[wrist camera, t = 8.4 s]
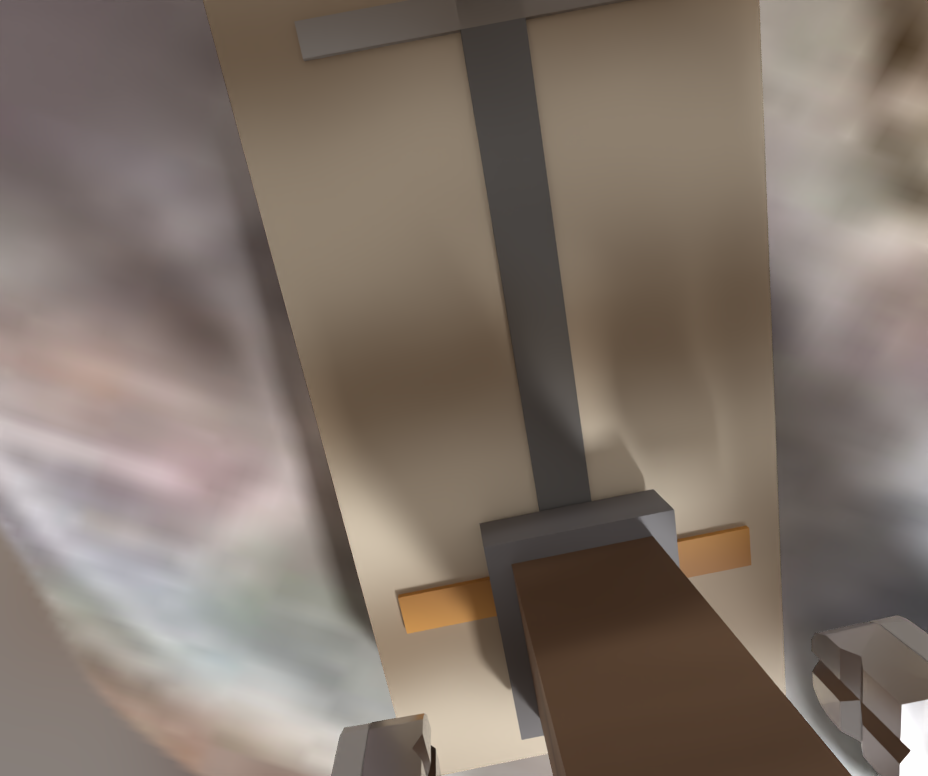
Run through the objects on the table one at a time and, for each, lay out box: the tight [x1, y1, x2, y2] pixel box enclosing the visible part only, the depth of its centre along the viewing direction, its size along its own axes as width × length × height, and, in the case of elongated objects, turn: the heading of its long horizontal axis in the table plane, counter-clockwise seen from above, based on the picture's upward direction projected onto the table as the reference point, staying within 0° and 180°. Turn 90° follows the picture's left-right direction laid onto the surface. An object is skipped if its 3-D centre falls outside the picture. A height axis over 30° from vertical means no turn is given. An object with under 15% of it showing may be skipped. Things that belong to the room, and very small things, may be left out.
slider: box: [479, 489, 852, 776], centre depth 9 cm, size 5×4×6 cm
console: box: [203, 0, 786, 775], centre depth 12 cm, size 22×10×3 cm, turn 10°
